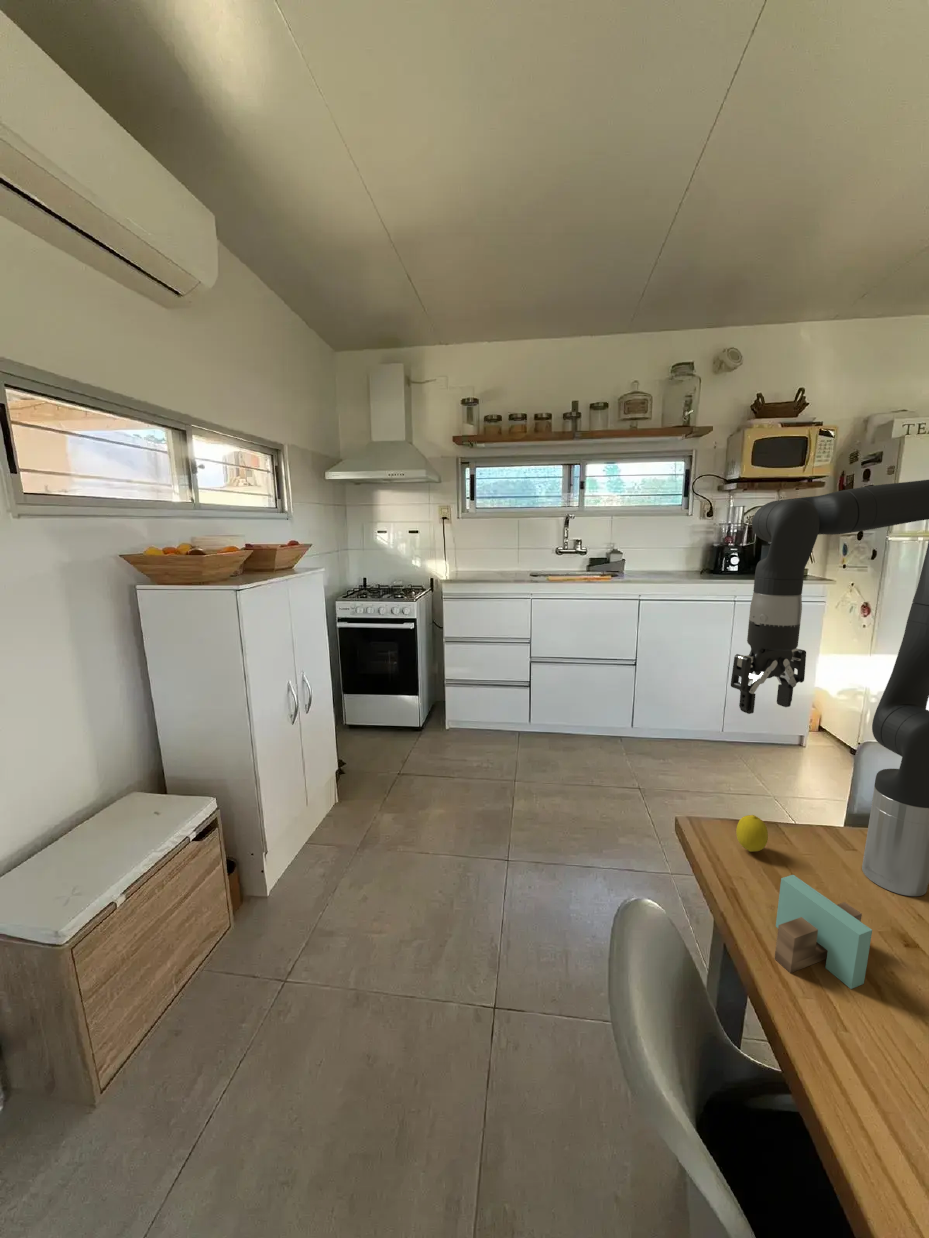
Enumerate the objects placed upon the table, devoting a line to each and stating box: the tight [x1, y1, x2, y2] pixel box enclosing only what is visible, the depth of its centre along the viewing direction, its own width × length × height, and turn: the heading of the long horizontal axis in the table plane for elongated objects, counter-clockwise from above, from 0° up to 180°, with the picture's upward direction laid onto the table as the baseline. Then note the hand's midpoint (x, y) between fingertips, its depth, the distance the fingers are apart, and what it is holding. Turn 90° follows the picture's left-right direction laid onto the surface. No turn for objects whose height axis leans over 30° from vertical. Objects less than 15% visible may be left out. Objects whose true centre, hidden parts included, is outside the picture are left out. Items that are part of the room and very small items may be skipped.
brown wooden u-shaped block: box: [774, 901, 863, 974], centre depth 77 cm, size 14×3×6 cm, turn 108°
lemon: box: [735, 814, 769, 853], centre depth 100 cm, size 6×6×8 cm
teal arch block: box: [775, 874, 873, 990], centre depth 76 cm, size 12×3×9 cm, turn 18°
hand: (765, 708), depth 88 cm, fingers open, 8 cm apart
